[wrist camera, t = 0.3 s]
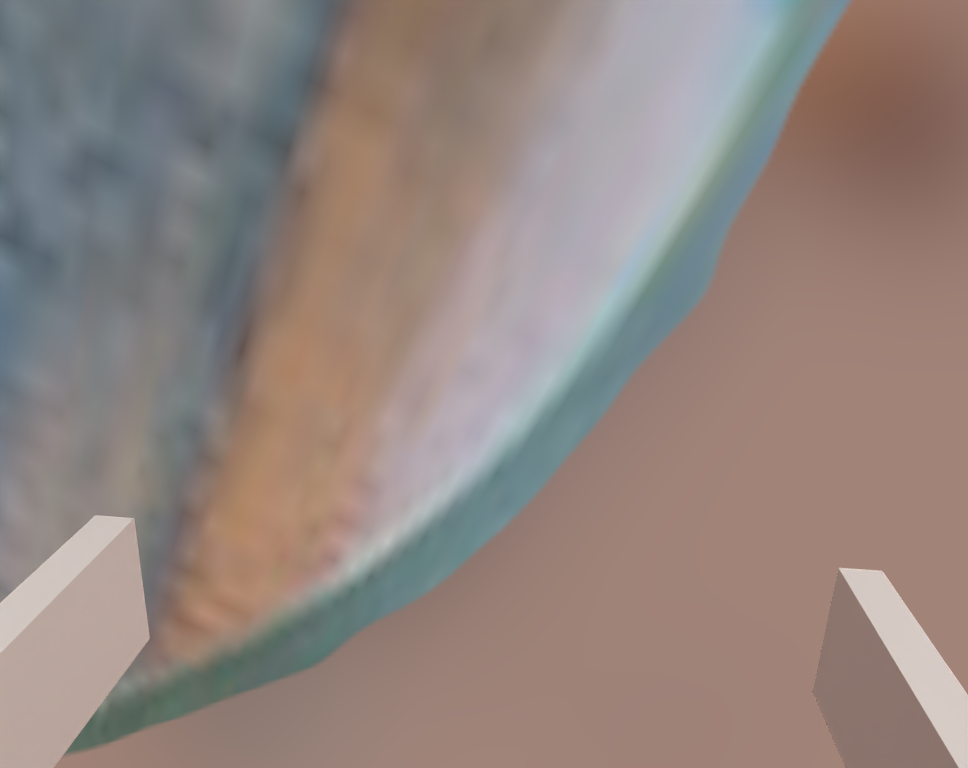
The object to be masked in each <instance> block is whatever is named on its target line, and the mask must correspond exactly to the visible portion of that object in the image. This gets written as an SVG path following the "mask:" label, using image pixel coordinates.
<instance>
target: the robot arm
mask: <svg viewBox="0 0 968 768" xmlns="http://www.w3.org/2000/svg"><path fill="white" fill-rule="evenodd" d="M149 639H150V637H149V629H148V621H147V614H146V606H145V598H144V590H143V583H142V575H141V567H140V559H139V552H138V544H137V536H136V529H135V521H134V518H125V517H111V516H97V515H95V516H94V517H93V518H92V519H91V520H90V521H89V522H88V523H87V524H86V525H84V526H83V527H82V528H81V529H80V530H79V531H78V532H77V533H76V534H75V535H74V536H72V537H71V538H70V539H69V540H68V541H67V542H66V543H65V544H64V545H63V546H62V547H61V548H59V549H58V550H57V551H56V552H55V553H54V554H53V555H52V556H51V557H50V558H49V559H47V560H46V561H45V562H44V563H43V564H42V565H41V566H40V567H39V568H38V569H37V570H35V571H34V572H33V573H32V574H31V575H30V576H29V577H28V578H27V579H26V580H25V581H23V582H22V583H21V584H20V585H19V586H18V587H17V588H16V589H15V590H14V591H13V592H11V593H10V594H9V595H8V596H7V597H6V598H5V599H4V600H3V601H2V602H1V603H0V768H54V767H55V765H56V764H57V763H58V761H59V760H60V759H61V757H62V756H63V755H64V753H65V752H66V751H67V749H68V748H69V747H70V745H71V744H72V742H73V741H74V740H75V738H76V737H77V736H78V734H79V733H80V732H81V730H82V729H83V728H84V726H85V725H86V724H87V722H88V721H89V720H90V718H91V717H92V716H93V714H94V713H95V712H96V710H97V709H98V707H99V706H100V705H101V703H102V702H103V701H104V699H105V698H106V697H107V695H108V694H109V693H110V691H111V690H112V689H113V687H114V686H115V685H116V683H117V682H118V681H119V679H120V678H121V677H122V675H123V674H124V672H125V671H126V670H127V668H128V667H129V666H130V664H131V663H132V662H133V660H134V659H135V658H136V656H137V655H138V654H139V652H140V651H141V650H142V648H143V647H144V646H145V644H146V643H147V642H148V640H149ZM813 694H814V696H815V698H816V701H817V703H818V705H819V707H820V710H821V712H822V714H823V717H824V719H825V721H826V724H827V726H828V728H829V731H830V733H831V735H832V738H833V740H834V742H835V745H836V747H837V749H838V752H839V754H840V756H841V758H842V761H843V763H844V765H845V767H846V768H968V695H967V693H966V692H965V690H964V689H963V687H962V686H961V685H960V683H959V682H958V680H957V679H956V677H955V676H954V674H953V673H952V672H951V670H950V669H949V667H948V666H947V664H946V663H945V661H944V660H943V658H942V657H941V656H940V654H939V653H938V651H937V650H936V649H935V647H934V645H933V644H932V642H931V641H930V640H929V638H928V637H927V635H926V634H925V632H924V631H923V629H922V628H921V627H920V625H919V624H918V622H917V621H916V619H915V618H914V616H913V615H912V614H911V612H910V610H909V609H908V608H907V606H906V605H905V603H904V602H903V601H902V599H901V597H900V596H899V595H898V593H897V592H896V590H895V589H894V587H893V586H892V584H891V583H890V581H889V580H888V579H887V577H886V576H885V574H884V573H883V571H877V570H863V569H849V568H848V569H847V568H838V573H837V578H836V582H835V587H834V592H833V597H832V601H831V606H830V611H829V616H828V621H827V626H826V631H825V635H824V640H823V645H822V649H821V654H820V659H819V664H818V669H817V673H816V679H815V683H814V688H813Z"/></svg>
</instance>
